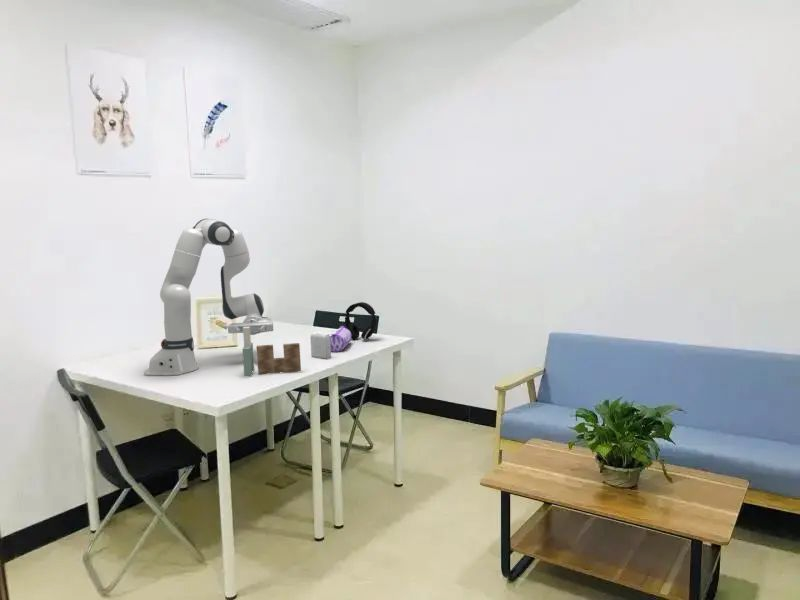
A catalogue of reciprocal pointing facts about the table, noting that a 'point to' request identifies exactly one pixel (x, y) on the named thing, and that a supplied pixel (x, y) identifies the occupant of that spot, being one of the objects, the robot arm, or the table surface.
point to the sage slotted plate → (248, 353)
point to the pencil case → (340, 339)
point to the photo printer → (320, 344)
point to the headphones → (353, 328)
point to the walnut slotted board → (278, 359)
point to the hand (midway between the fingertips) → (249, 330)
